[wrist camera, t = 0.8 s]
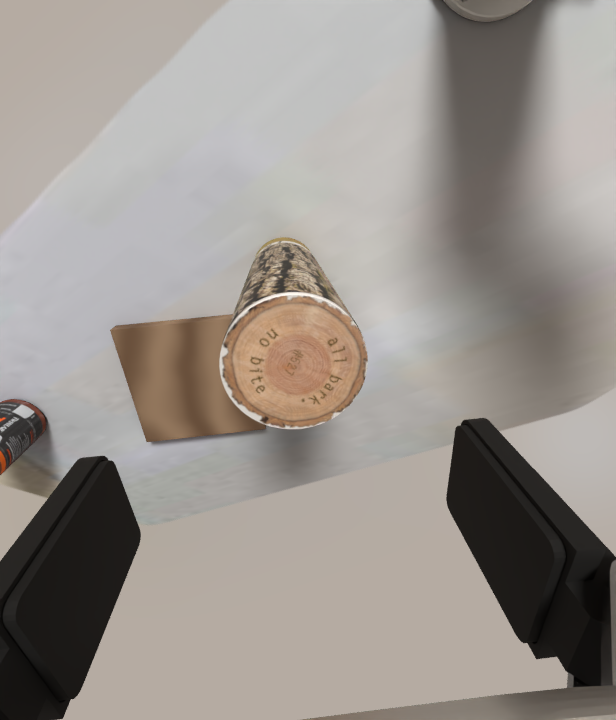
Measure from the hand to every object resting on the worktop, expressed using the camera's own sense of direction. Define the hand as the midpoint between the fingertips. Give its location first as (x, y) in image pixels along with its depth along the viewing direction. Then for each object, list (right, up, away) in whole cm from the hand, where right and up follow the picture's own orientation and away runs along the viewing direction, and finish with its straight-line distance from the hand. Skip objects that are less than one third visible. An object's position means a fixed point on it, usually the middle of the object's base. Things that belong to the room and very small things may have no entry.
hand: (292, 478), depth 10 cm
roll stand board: (-13, +1, +34) cm, 36 cm away
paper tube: (-2, +13, +29) cm, 32 cm away
